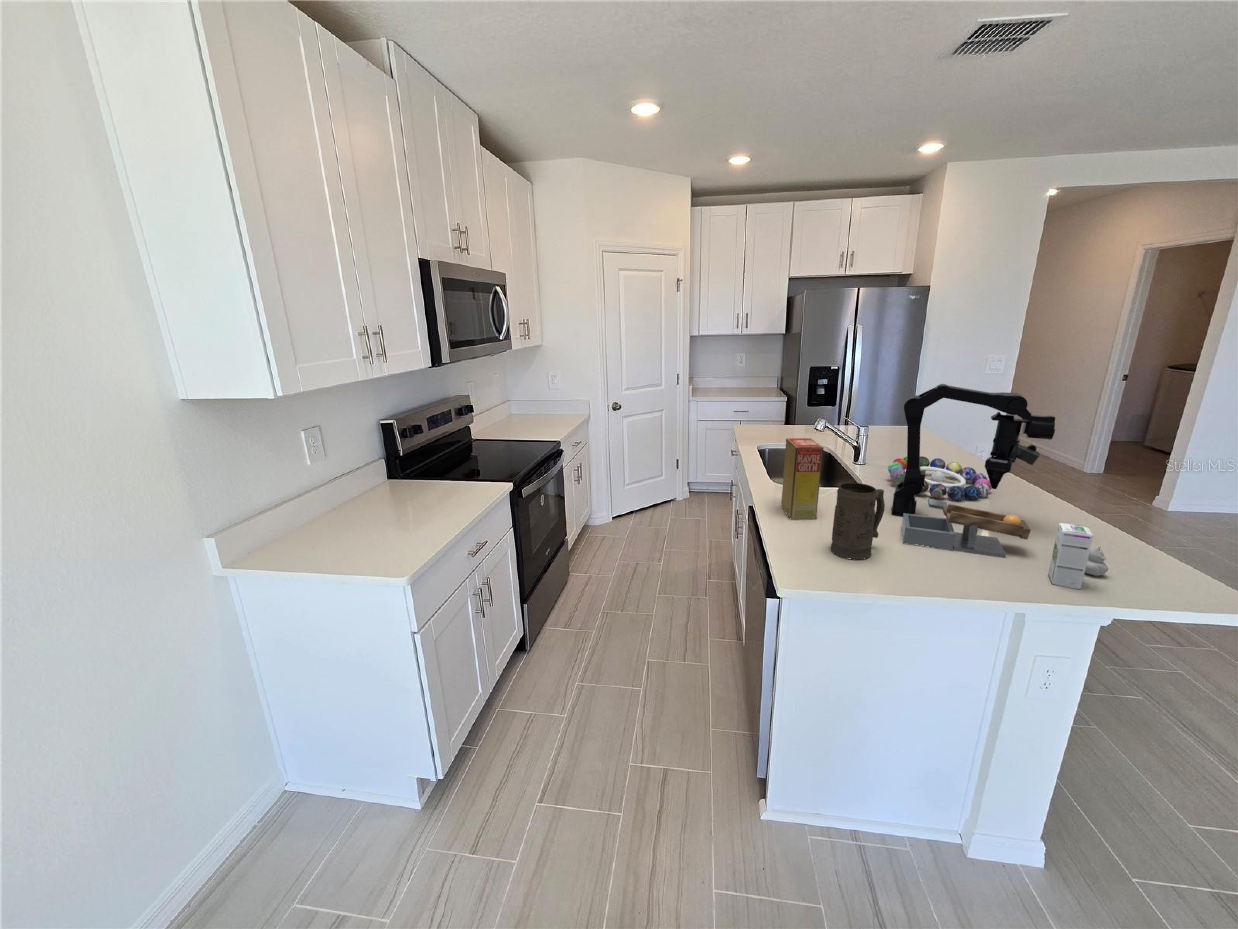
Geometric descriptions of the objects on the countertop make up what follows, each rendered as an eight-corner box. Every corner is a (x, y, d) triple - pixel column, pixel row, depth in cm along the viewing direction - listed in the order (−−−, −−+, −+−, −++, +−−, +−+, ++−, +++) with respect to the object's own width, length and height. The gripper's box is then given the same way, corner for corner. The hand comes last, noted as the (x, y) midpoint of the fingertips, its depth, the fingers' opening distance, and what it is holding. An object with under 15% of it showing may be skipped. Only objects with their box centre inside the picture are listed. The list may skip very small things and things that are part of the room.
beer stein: (851, 564, 137) (863, 494, 132) (820, 549, 147) (829, 483, 142) (888, 554, 144) (900, 488, 139) (855, 541, 154) (866, 478, 149)
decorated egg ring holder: (989, 522, 174) (997, 499, 171) (879, 496, 191) (884, 475, 187) (984, 487, 202) (991, 466, 198) (889, 467, 218) (894, 448, 215)
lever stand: (953, 550, 144) (958, 524, 141) (948, 534, 154) (952, 509, 152) (1005, 557, 138) (1010, 531, 136) (996, 540, 149) (1001, 515, 147)
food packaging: (818, 519, 168) (824, 446, 161) (789, 519, 168) (794, 447, 162) (806, 505, 181) (811, 437, 174) (779, 505, 181) (784, 437, 174)
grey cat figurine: (1103, 581, 125) (1111, 552, 123) (1068, 571, 130) (1075, 543, 128) (1108, 574, 128) (1115, 545, 126) (1074, 565, 134) (1081, 537, 131)
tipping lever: (932, 519, 146) (935, 508, 145) (927, 501, 160) (930, 491, 159) (1027, 539, 137) (1031, 528, 136) (1013, 518, 151) (1017, 508, 150)
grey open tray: (903, 543, 149) (905, 527, 148) (901, 527, 160) (903, 513, 158) (952, 550, 144) (955, 534, 142) (947, 534, 154) (949, 518, 153)
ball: (1001, 520, 140) (1018, 515, 138) (998, 515, 143) (1015, 510, 141) (1008, 533, 140) (1025, 528, 138) (1005, 527, 143) (1021, 523, 141)
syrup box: (1081, 590, 122) (1095, 534, 118) (1050, 584, 125) (1062, 530, 121) (1076, 579, 126) (1089, 526, 122) (1046, 574, 129) (1058, 521, 125)
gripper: (1038, 446, 139) (1026, 499, 144) (1043, 434, 152) (1031, 483, 157) (989, 440, 146) (979, 490, 151) (998, 428, 159) (988, 475, 164)
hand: (996, 485), depth 155 cm, fingers open, 9 cm apart
